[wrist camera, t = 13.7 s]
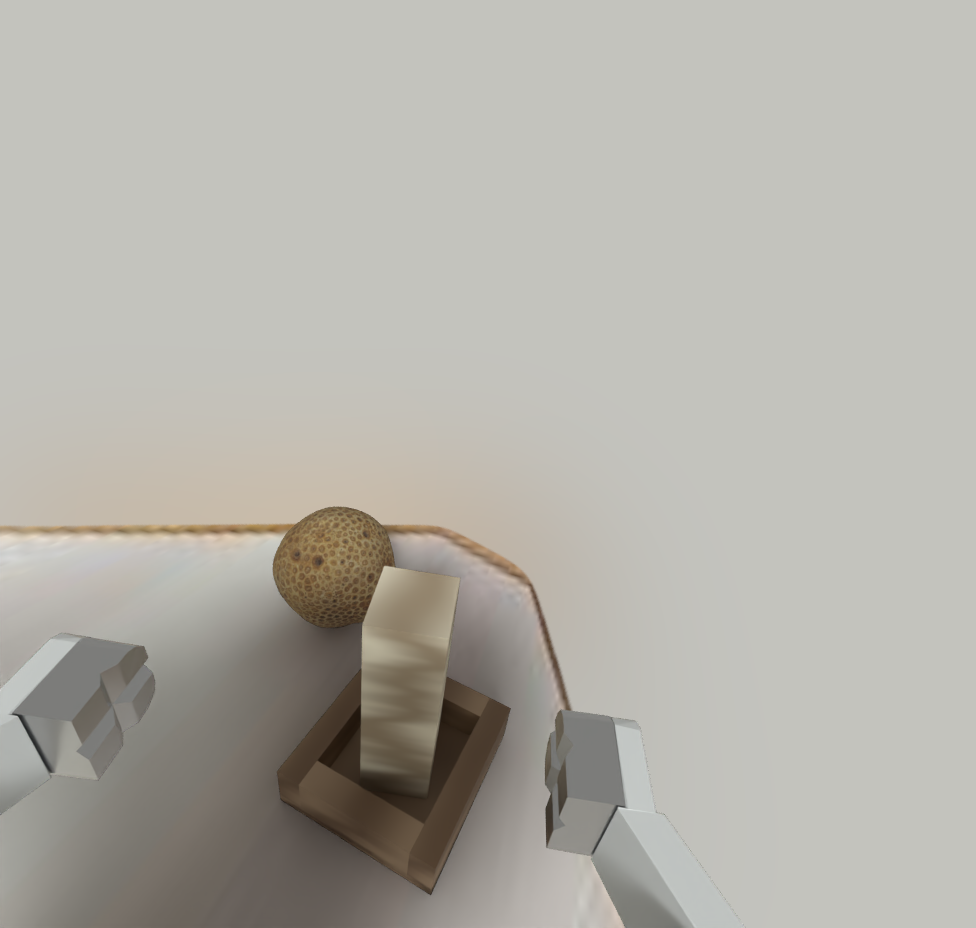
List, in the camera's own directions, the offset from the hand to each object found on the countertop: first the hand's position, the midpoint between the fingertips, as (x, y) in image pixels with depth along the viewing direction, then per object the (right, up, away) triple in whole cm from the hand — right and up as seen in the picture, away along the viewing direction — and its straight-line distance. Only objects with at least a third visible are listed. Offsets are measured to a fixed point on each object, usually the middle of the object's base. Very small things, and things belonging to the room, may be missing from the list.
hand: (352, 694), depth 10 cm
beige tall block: (-3, -14, +23) cm, 27 cm away
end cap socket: (-3, -14, +23) cm, 27 cm away
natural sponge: (-10, -8, +33) cm, 35 cm away
